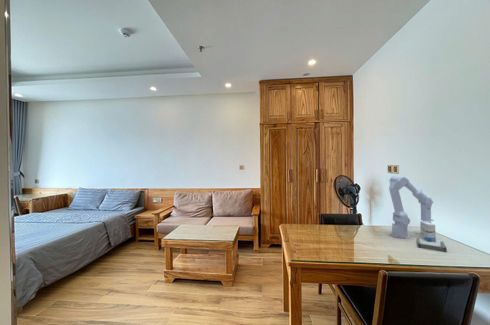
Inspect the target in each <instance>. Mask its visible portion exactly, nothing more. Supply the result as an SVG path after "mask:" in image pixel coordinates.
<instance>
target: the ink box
mask: <svg viewBox="0 0 490 325" xmlns="http://www.w3.org/2000/svg"><path fill="white" fill-rule="evenodd" d="M430 222H431V221H430ZM430 222H425V221H422V220H420V222H419V223H420V224H419V226H420V238H421V239H422V240H424V241H427V242H431V243H433V242H434V243H435V242H436V241H437V239H436V224H434V223H432V222H431V223H430Z"/></svg>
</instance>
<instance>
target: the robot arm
mask: <svg viewBox="0 0 490 325" xmlns="http://www.w3.org/2000/svg"><path fill="white" fill-rule="evenodd" d="M403 187H404V188H407V190H409V191H410V192H411V193H412V195H413V197H415V198H416V200H417V202H418V203H419V204H420V221H425V222H430V223H432V222H434V219H432V206H433V204H434V201H433V199H432V198H431V197H429V196H427V194H425V193H424V192H423V191H422V189H417V188H416V187H415V185H413V184H412V183H411V182H410V180H409V179H408V178H407V177H406V176H397V175H394V176H391V177H390V179H389V187H388V191H389V193H390V198H391V202H392V206H393V209H394V212H392V221H393V222H394V223H392V224H391V234H392V237H393V238H400V239H407V240H408V239H409V234H408V232H409V230H408V226H409V224H410V223H411V219H410V218H409V216H408V214H407V213H406V212H405V210H404V205H403V201H402V198H401V194H400V190H401V189H402V188H403Z"/></svg>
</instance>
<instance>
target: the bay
mask: <svg viewBox="0 0 490 325" xmlns="http://www.w3.org/2000/svg"><path fill="white" fill-rule="evenodd" d="M416 243H417V248H419V249H424V250H431V251H435V252H442V251H443V252H442V253H447V252H448V250H447V248H448V247H446V244H445V243H444V241H440V242H439V243H440V246H439V245H432V244H426V243H421V240H420V238H419V237H416Z"/></svg>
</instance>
